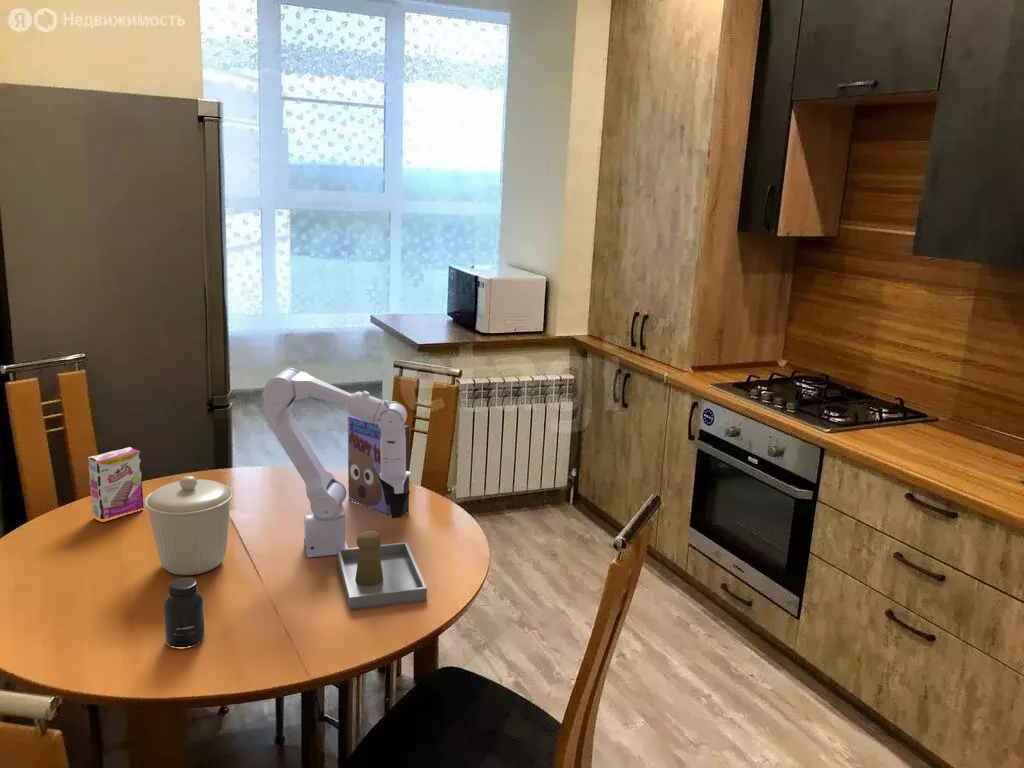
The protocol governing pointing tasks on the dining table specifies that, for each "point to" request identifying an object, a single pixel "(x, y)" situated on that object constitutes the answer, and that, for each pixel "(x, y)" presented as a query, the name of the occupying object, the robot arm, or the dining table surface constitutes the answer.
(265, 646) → the dining table surface
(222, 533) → the canister
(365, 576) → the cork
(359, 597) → the box
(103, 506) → the candy bar box
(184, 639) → the supplement bottle
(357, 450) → the cereal box
